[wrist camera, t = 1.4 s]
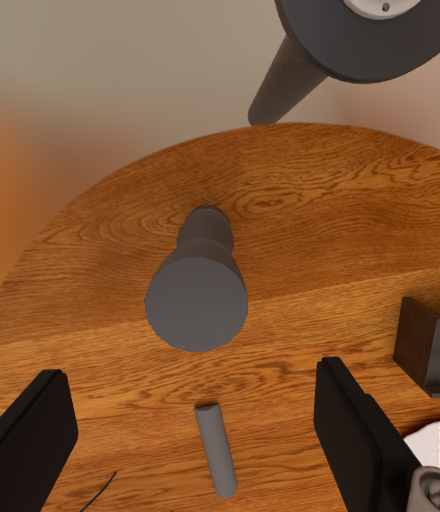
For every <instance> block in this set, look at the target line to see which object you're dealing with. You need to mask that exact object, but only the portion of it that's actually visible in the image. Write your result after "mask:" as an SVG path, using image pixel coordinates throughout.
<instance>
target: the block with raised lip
mask: <svg viewBox="0 0 440 512" xmlns="http://www.w3.org/2000/svg"><path fill="white" fill-rule="evenodd" d="M393 360H394V361H395V362H396V363H397V364H398V365H399V366H400V367H401V368H402V369H403V370H404V371H405V372H406V373H407V374H408V376H409V377H410V378H411V379H412V380H413V381H414V382H415V383H416V384H417V385H418V386H419V387H420V388H421V389H422V390H423V391H425V392H426V393H427V394H428V395H429V396H430V397H431V398H432V399H433V398H440V315H439V314H438V313H436V312H434V311H433V310H431V309H430V308H428V307H426V306H425V305H423V304H421V303H420V302H418V301H416V300H415V299H413V298H412V297H403V299H402V305H401V312H400V318H399V325H398V331H397V338H396V344H395V351H394V357H393Z"/></svg>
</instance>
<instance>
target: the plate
mask: <svg viewBox="0 0 440 512" xmlns="http://www.w3.org/2000/svg"><path fill="white" fill-rule="evenodd" d="M404 441H405V442H406V444H407V445H408V446H409V448H410V449H411V450H412V452H413V453H414V455H415V456H416V457H417V459H418V460H419V461H420V463H421V464H422V466H435V467H439V468H440V422H434V423H431V424H428V425H426V426H425V427H423V428H422V429H420V430H419V431H417V432H415V433H413V434H410V435H408V436H406V437H405V438H404Z"/></svg>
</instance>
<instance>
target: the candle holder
mask: <svg viewBox="0 0 440 512" xmlns="http://www.w3.org/2000/svg"><path fill="white" fill-rule="evenodd" d="M233 248H234V242H233V234H232V232H231V230H230V224H229V221H228V219H227V217H226V215H225V214H224V213H223V212H222V211H221V210H220V209H219V208H216V207H213V206H201V207H199V208H197V209H195V210H193V211H192V212H191V214H190V215H189V216H188V217H187V219H186V220H185V224H184V225H183V226H182V227H181V228H180V231H179V234H178V237H177V248H176V249H175V250H174V251H173V252H171V253H170V255H169V256H168V257H167V258H166V259H165V260H164V261H163V263H162V264H161V265H160V267H159V268H158V270H157V272H156V273H155V275H154V276H153V278H152V280H151V281H150V284H149V287H148V290H147V293H146V297H145V300H144V302H145V309H146V316H147V320H148V322H149V323H150V325H151V327H152V328H153V330H154V331H155V333H156V335H157V336H159V337H160V338H161V339H163V340H164V341H165V342H167V343H168V344H169V345H171V346H172V347H175V348H179V349H182V350H186V351H189V352H198V351H211V350H213V349H215V348H218V347H220V346H222V345H225V344H227V343H228V342H229V341H230V340H231V339H232V338H233V337H234V336H235V335H236V334H237V333H238V332H239V331H240V330H241V329H242V326H243V324H244V321H245V319H246V316H247V314H248V301H247V292H246V288H245V284H244V281H243V277H242V274H241V272H240V270H239V268H238V266H237V264H236V262H235V260H234V259H233V257H232V255H231V253H232V251H233Z"/></svg>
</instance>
